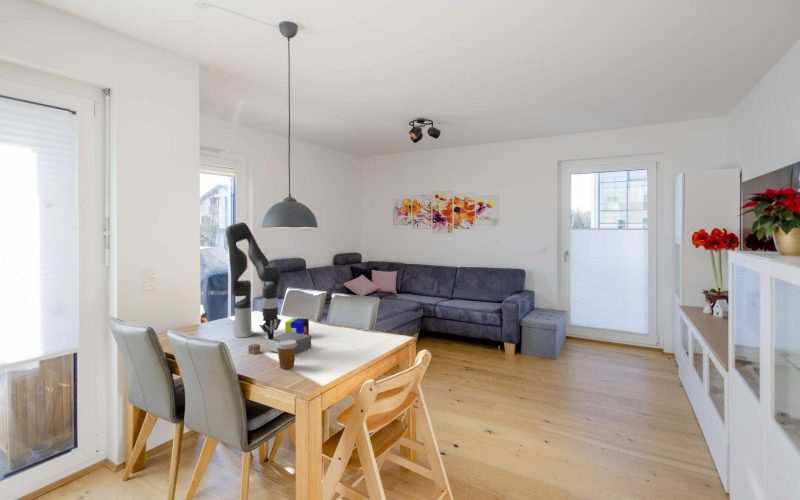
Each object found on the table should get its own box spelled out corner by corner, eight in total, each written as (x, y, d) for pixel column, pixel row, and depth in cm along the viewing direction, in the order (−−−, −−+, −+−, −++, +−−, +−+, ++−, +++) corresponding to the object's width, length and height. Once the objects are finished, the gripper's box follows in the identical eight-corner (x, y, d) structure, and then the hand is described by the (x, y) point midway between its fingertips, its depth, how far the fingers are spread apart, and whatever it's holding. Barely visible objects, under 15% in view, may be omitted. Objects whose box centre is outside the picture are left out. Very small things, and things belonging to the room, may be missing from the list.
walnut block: (248, 353, 207) (248, 345, 207) (254, 350, 210) (254, 343, 210) (253, 354, 205) (253, 346, 205) (260, 352, 209) (259, 344, 208)
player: (270, 350, 211) (269, 337, 210) (289, 343, 223) (289, 331, 222) (292, 355, 203) (292, 342, 202) (311, 348, 215) (311, 335, 215)
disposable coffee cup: (279, 363, 192) (278, 339, 191) (299, 363, 192) (298, 338, 192) (274, 370, 182) (274, 345, 181) (295, 370, 183) (295, 344, 182)
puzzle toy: (301, 339, 231) (301, 322, 231) (285, 338, 233) (285, 322, 233) (308, 335, 241) (308, 318, 240) (293, 334, 243) (293, 318, 242)
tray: (268, 350, 209) (267, 340, 208) (288, 343, 221) (287, 334, 221) (289, 355, 202) (289, 345, 201) (308, 347, 214) (308, 337, 214)
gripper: (265, 309, 195) (266, 344, 196) (285, 304, 206) (285, 337, 208) (254, 308, 198) (255, 341, 200) (274, 302, 210) (275, 334, 212)
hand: (270, 339), depth 204 cm, fingers closed
